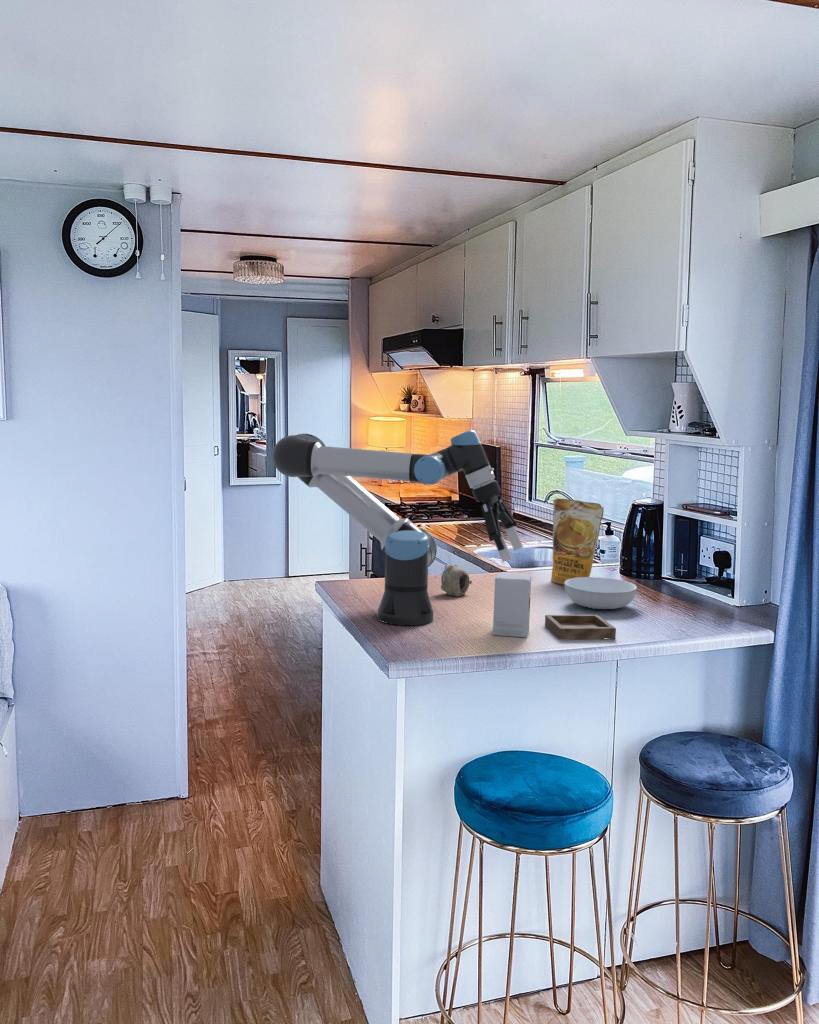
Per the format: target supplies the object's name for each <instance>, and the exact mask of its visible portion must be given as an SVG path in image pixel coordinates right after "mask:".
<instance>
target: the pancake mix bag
mask: <svg viewBox="0 0 819 1024" xmlns="http://www.w3.org/2000/svg"><path fill="white" fill-rule="evenodd" d="M603 516H604V507H603V506H602V505H601V503H599V502H598V503H597V502H588V501H581V500H577V499H569V498H556V499H553V519H552V520H553V521H552V522H553V524H552V569H551V578H550V581H552V583H554V584H558V585H561V584H562V585H561V586H565V584H564V583H565V581H566V580H568V579H572V578H579V577H591V572H592V567H593V563H594V559H595V558H594V557H595V552H596V548H597V543H598V539H599V535H600V531H601V524H602V520H603Z"/></svg>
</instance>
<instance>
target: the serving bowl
mask: <svg viewBox="0 0 819 1024" xmlns="http://www.w3.org/2000/svg"><path fill="white" fill-rule="evenodd" d="M564 584H565V585H564V590H565V591H564V592H565V593H566V595H567V597H568V598H569V599H570V600H571V602H573V603H574V604H577V605H579V606H581V607H584V608H586V607H588V608H587V609H590V608H593V609H592V610H595V609H612V610H614V609H619V608H620V609H621V608H624V607H626V606H627V605H629V604H630V603H631V602H632V601H634V599H635V598H636V594H637V589H638V586H637V585H636V584H635V583H633V582H630V581H627V580H622V579H617V578H608V577H600V576H599V577H596V576H590V577H579V578H572V579H568V580H566V581H565V583H564Z"/></svg>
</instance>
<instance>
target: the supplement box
mask: <svg viewBox="0 0 819 1024" xmlns="http://www.w3.org/2000/svg"><path fill="white" fill-rule="evenodd" d="M531 590H532V573H516V572H506V571H505V572H504V571H500V572H499V571H498V573H497V574H496V575H495V578H494V591H493V592H494V595H493V598H494V599H493V615H492V616H493V619H492V621H493V622H492V635H493V636H502V637H516V638H524V639H525V638H526V639H527V638H528V636H529V631H530V616H531Z"/></svg>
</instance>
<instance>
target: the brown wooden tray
mask: <svg viewBox="0 0 819 1024" xmlns="http://www.w3.org/2000/svg"><path fill="white" fill-rule="evenodd" d="M544 626H545V627H546V628H547V629H548V630H549V631H550V632H551V633H552V634H553V635H555V637H556V638H558V640H560V639H569V640H605V639H604V638H615V639H616V637H617V636H616V635H617V632H616V631H617V628H616V627H615V626H614V625H612V624H611V623H609V622H608V621H607V620H605V619H604V618H603V617H602V616H600V615H599V614H545V616H544Z"/></svg>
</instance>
